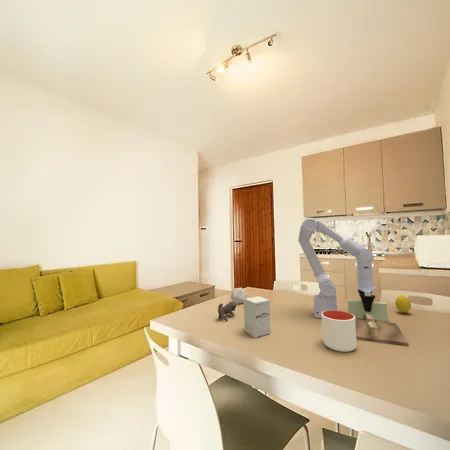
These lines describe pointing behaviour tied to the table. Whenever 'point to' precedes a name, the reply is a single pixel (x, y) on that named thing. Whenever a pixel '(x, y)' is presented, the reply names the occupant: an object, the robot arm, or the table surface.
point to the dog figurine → (226, 310)
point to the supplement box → (257, 316)
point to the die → (238, 295)
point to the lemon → (403, 304)
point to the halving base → (379, 331)
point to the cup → (339, 330)
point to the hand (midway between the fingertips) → (366, 309)
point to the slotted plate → (377, 312)
